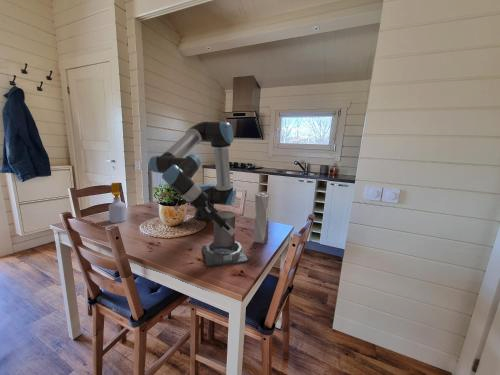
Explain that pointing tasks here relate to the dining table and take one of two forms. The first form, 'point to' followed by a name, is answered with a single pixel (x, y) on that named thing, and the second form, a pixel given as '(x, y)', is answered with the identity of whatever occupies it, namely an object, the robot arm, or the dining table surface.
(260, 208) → the skyscraper
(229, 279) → the dining table surface
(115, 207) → the soap bottle
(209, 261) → the duct collar
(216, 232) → the pillar candle
